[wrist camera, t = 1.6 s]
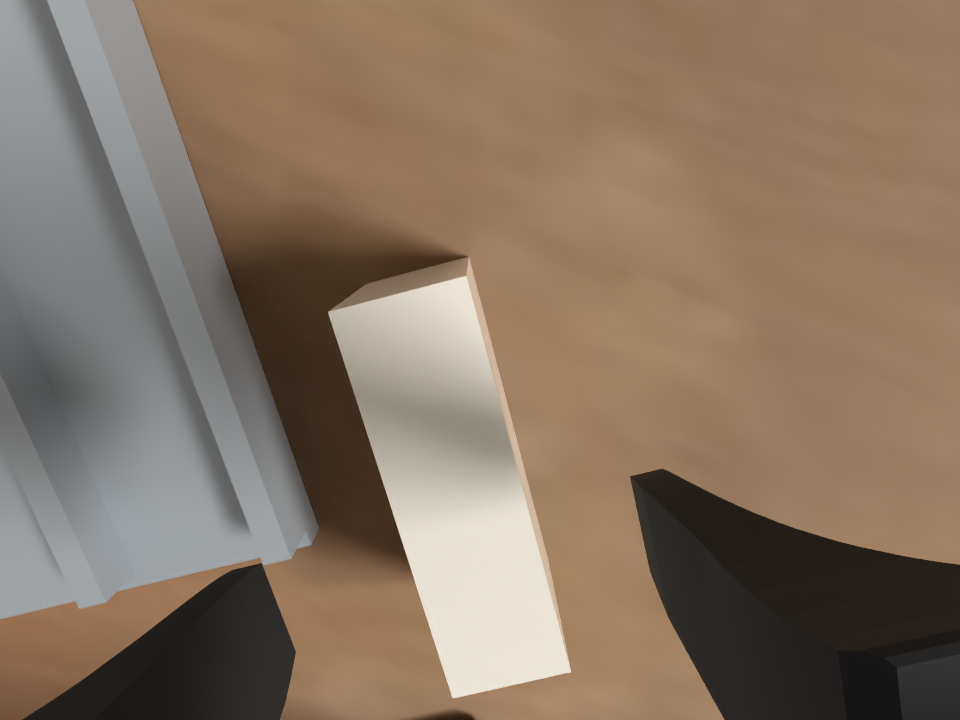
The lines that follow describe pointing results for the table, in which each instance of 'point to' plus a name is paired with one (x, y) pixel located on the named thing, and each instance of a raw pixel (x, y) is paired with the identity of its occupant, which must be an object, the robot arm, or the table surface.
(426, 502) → the white rectangular block
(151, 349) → the grey ridged tray
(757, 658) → the robot arm
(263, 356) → the table surface
